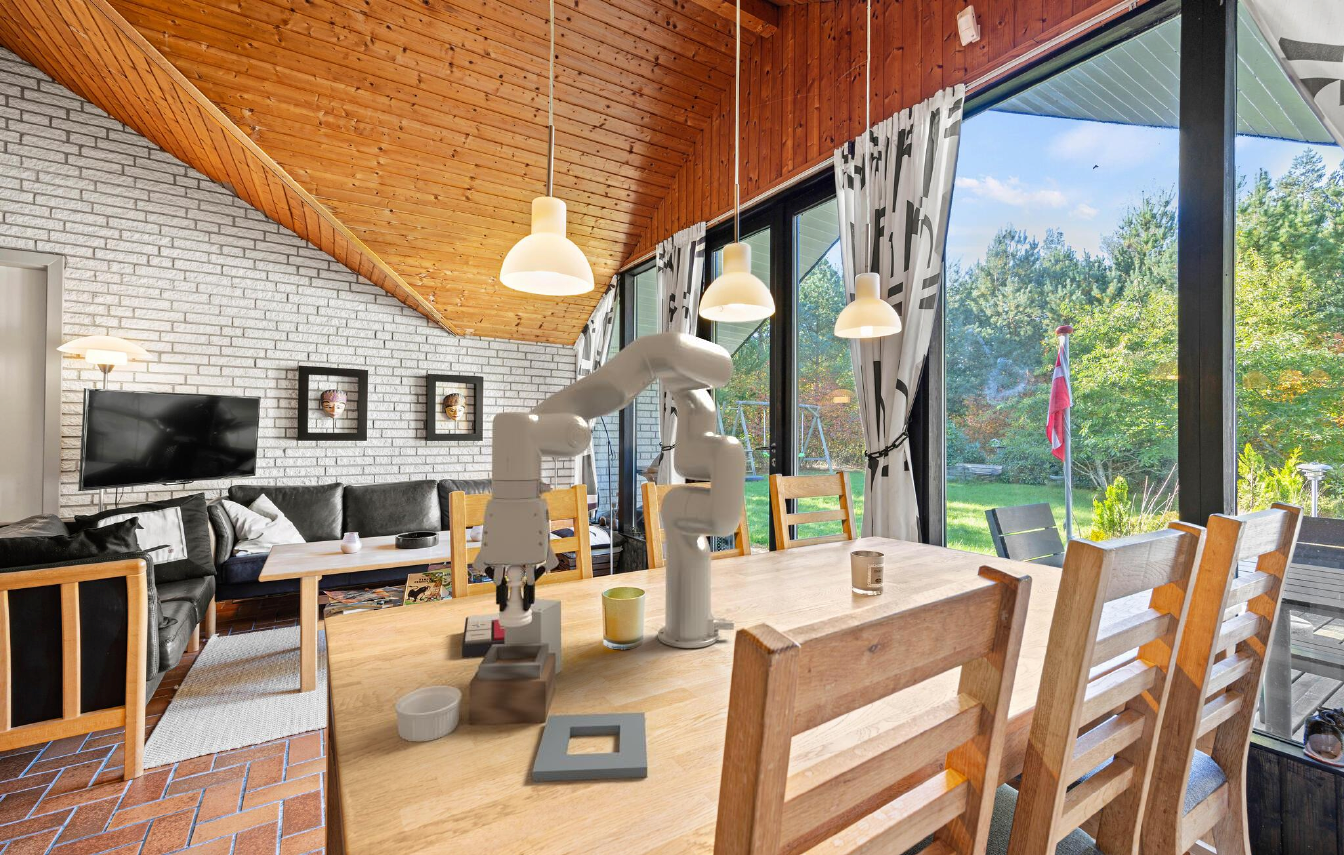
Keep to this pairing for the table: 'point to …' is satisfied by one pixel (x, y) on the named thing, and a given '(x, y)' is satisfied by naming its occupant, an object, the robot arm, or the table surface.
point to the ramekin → (428, 713)
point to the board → (596, 765)
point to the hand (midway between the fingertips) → (515, 607)
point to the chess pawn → (515, 600)
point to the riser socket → (513, 685)
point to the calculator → (481, 634)
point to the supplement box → (540, 628)
